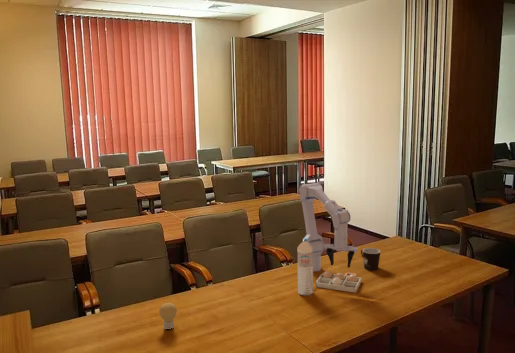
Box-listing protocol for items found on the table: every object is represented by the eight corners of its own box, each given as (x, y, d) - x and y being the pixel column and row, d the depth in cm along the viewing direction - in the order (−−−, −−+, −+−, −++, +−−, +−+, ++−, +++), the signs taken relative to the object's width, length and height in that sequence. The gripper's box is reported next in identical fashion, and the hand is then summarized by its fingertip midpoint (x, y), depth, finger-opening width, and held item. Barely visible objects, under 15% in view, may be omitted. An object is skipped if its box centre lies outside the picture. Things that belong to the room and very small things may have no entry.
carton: (315, 288, 199) (315, 277, 198) (322, 278, 210) (322, 268, 209) (355, 294, 191) (355, 283, 190) (361, 283, 202) (361, 273, 202)
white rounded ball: (330, 288, 197) (330, 279, 196) (333, 284, 201) (333, 275, 200) (340, 289, 195) (340, 280, 194) (343, 285, 199) (342, 276, 198)
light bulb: (170, 322, 171) (168, 298, 170) (181, 327, 167) (179, 302, 166) (157, 329, 166) (155, 304, 165) (167, 334, 162) (166, 309, 161)
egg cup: (342, 279, 208) (343, 276, 208) (345, 275, 213) (345, 271, 213) (354, 281, 206) (354, 277, 205) (357, 276, 211) (357, 273, 210)
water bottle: (295, 294, 193) (294, 240, 189) (301, 288, 199) (300, 235, 195) (309, 297, 190) (309, 242, 186) (315, 291, 196) (315, 237, 192)
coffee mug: (382, 273, 214) (382, 253, 212) (364, 273, 214) (364, 253, 213) (376, 264, 226) (376, 245, 224) (359, 264, 226) (359, 246, 224)
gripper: (322, 237, 196) (322, 266, 198) (355, 241, 190) (354, 271, 192) (326, 233, 202) (326, 261, 205) (358, 236, 196) (357, 265, 199)
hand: (340, 265), depth 199 cm, fingers open, 7 cm apart
